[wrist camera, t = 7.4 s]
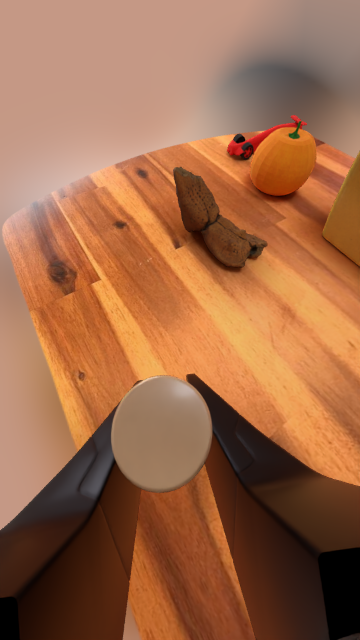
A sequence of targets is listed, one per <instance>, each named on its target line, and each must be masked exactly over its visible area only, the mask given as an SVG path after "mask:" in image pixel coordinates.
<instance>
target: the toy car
mask: <svg viewBox="0 0 360 640" xmlns="http://www.w3.org/2000/svg"><path fill="white" fill-rule="evenodd" d="M291 118H292V119H293V120H294V121H296V122H295V123H288V124H282V125H277V126H275V127H272V128H270V129H268V130H266V131H264V132H262V133H260V134H258V135H256V136H255V137H253V138H251V139H249V140H247V141H245V138H244V137H243V136H242V135H241V134H237V135H236V136H235V137H234V139H233V140H232V141H231V143H230V144H229V145H228V149H227V151H228V153H229V152H230V153H229V154H230V155H237V156H238V155H240V156H241V157H242V158H243V159H244V160H247V159H249V158H250V157H251V155H252V154H253V152H255V151H256V149H257V148H258V146H259V145H260V144H261V142H262V141H263V140H264V139H265V138H267V137H268V136H269V135H270V134H271V133H273V132H274V131H276V130H277V129H280V128H285V127H294V128H297V126H298V123H299V121H301V119H298V117H297V116H295V115H293V116H291ZM302 125H307V124H306V123H305V122H303V121H302V122H301V125H300V128H299V129H302Z"/></svg>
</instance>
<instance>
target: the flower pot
mask: <svg viewBox="0 0 360 640" xmlns="http://www.w3.org/2000/svg"><path fill="white" fill-rule="evenodd" d="M322 235H323V237H324V238H325V239H326V240H328V241H329V242H330V243H331V244H333V245H334V246H335V247H336V248H338V249H339V250H340V251H341V252H342V253H344V254H345V255H346V256H347V257H349V258H350V259H351V260H352V261H354V262H355V263H356V264H357V265H358V266H360V152H359V153H358V155H357V157H356V159H355V161H354V162H353V164H352V166H351V168H350V170H349V172H348V174H347V176H346V178H345V180H344V182H343V184H342V186H341V188H340V190H339V193H338V195H337V197H336V199H335V202H334V204H333V206H332V208H331V211H330V214H329V216H328V219H327V221H326V224H325V227H324V230H323V232H322Z"/></svg>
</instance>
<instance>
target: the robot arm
mask: <svg viewBox="0 0 360 640" xmlns="http://www.w3.org/2000/svg"><path fill="white" fill-rule="evenodd" d="M186 380H187V382H188V383H189V384H191V385H192V386H193V387H194V388H195V389H196V390H197V391H198V392H199V393H200V394H201V396H202V397H203V399H204V400H205V402H206V404H207V407H208V409H209V412H210V416H211V421H212V443H211V447H210V451H209V454H208V457H207V459H206V461H205V466H206V470H207V473H208V477H209V480H210V484H211V487H212V490H213V494H214V497H215V501H216V504H217V508H218V511H219V514H220V518H221V521H222V525H223V528H224V532H225V535H226V538H227V542H228V545H229V549H230V552H231V556H232V559H233V563H234V566H235V570H236V573H237V576H238V580H239V583H240V587H241V590H242V593H243V597H244V600H245V604H246V607H247V611H248V614H249V617H250V621H251V624H252V628H253V631H254V635H255V638H256V640H360V486H356V485H353V484H349V483H346V482H342V481H339V480H335V479H332V478H329V477H326V476H324V475H322V474H320V473H318V472H316V471H314V470H313V469H311V468H309V467H308V466H306V465H305V464H303V463H302V462H301V461H299V460H298V459H297V458H295V457H294V456H292V455H291V454H290V453H288V452H287V451H286V450H284V449H283V448H282V447H280V446H279V445H277V444H276V443H275V442H273V441H272V440H271V439H269V438H268V437H267V436H265V435H264V434H263V433H262V432H260V431H259V430H258V429H256V428H255V427H254V426H253V425H252V424H250V423H249V422H248V421H247V420H246V419H245V418H244V417H242V416H241V415H239V413H238V412H237V411H236V410H235V409H233V408H232V407H231V406H230V405H229V404H228V403H227V402H226V401H224V400H223V399H222V398H221V397H220V396H219V395H218V394H217V393H216V392H214V391H213V390H212V389H211V388H210V387H209V386H208V385H207V384H205V383H204V382H203V381H202V380H201V379H200V378H199V377H198V376H196V375H195V374H187V375H186ZM141 381H143V380H140V381H137V382H136V383H135V384H134V386H135V385H136V384H138V383H140V382H141ZM134 386H133V387H134ZM133 387H132V388H133ZM132 388H131V389H132ZM129 391H130V390H129ZM121 401H122V400H121ZM121 401H120V402H121ZM120 402H119V404H120ZM119 404H118V405H117V406H116V407H115V408H114V410H113V411H112V412H111V413H110V414H109V416H108V417H107V418H106V419H105V420H104V422H103V423H102V424H101V425H100V426H99V428H98V429H97V430H96V431H95V432H94V434H93V435H92V437H90V438H89V439H88V441H87V442H86V443H85V444H84V445H83V447H82V448H81V449H80V450H79V451H78V452H77V453H76V455H75V456H74V457H73V458H72V459H71V460H70V461H69V462H68V463H67V464H66V466H65V467H64V468H63V469H62V470H61V471H60V472H59V473H58V474H57V475H56V476H55V477H54V478H53V479H52V480H51V481H50V482H49V483H48V484H47V485H46V486H45V487H44V488H43V490H41V492H40V493H39V494H38V495H37V496H36V497H35V498H34V499H33V500H32V501H31V502H30V503H29V504H28V505H27V506H26V507H25V508H24V509H23V510H22V511H21V512H20V513H19V514H18V515H17V516H16V517H15V518H14V519H13V520H12V521H11V522H10V523H8V524H7V525H6V526H5V527H4V528H3V529H1V530H0V640H122V639H123V632H124V623H125V615H126V607H127V600H128V592H129V580H130V575H131V567H132V559H133V551H134V543H135V534H136V526H137V518H138V510H139V502H140V494H141V488H139V487H137V486H136V485H134V484H133V483H131V482H130V481H129V480H128V479H127V478H126V477H125V476H124V474H123V473H122V472H121V470H120V468H119V467H118V465H117V463H116V460H115V458H114V454H113V450H112V444H111V430H112V423H113V419H114V416H115V412H116V410H117V408H118V406H119Z"/></svg>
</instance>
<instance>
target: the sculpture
mask: <svg viewBox="0 0 360 640" xmlns="http://www.w3.org/2000/svg"><path fill="white" fill-rule="evenodd" d="M173 173H174V180H175V184H176V194H177V197H178V203H179V207H180V210H181V215H182V221H183V224H184V227H185V229H186V230H187V231H188V232H192V231H193V230H196V231H200V232H202V235H203V238H204V241H205V243H206V245H207V247H208V249H209V250H210V252H211V253H212V254H213V255H214V256H215V257H216V258H217V259H218V260H219V261H220V262H221V263H223V264H225V265H226V266H229V267H230V266H234V267H244V265H245V261H246V259H247V257H252V258H255V257H258V256H259V255H261V253H262V251H263V248H264V247H266V246H267V242H266V241H264V240H262V239H260V238H258V237H256V236H254V235H250V234H247V233H246V231H245V230H240V229H239V228H238V227H236V226H235V225H234V224H233V223H232V222H231V221H229V220H228V219H226V218H223V216H222V215H219V212H220V211H219V207H218V205H217V204H216V203H215V200H214V197H213V195H212V193H211V192H210V190H209V189H208V188H207V186H206V184H205V183H204V181H203V179H202V178H201V176H195V175H193V174H192V173H191V172H189V171H187V170H185V169H183V168H182V167H179V168H178V167H176V168H174V170H173Z"/></svg>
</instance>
